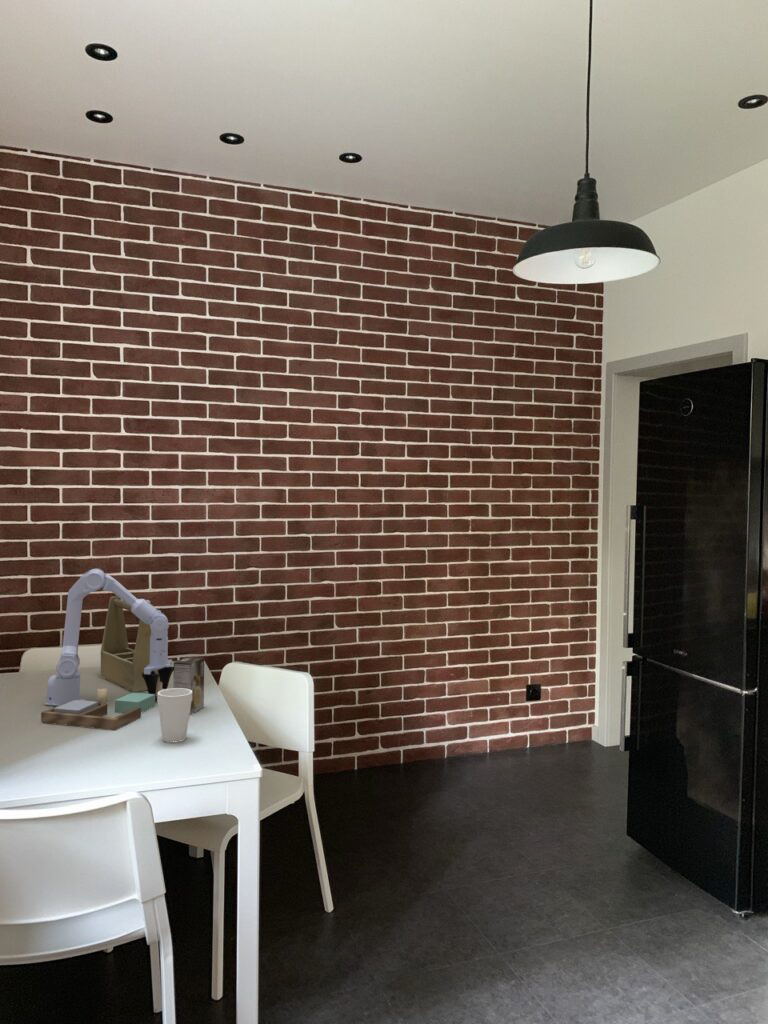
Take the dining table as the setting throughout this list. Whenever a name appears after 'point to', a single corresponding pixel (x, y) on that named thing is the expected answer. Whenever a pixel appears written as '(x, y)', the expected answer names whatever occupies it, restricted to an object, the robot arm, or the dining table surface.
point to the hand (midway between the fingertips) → (157, 691)
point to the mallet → (137, 700)
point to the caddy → (124, 649)
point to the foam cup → (174, 713)
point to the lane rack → (91, 717)
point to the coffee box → (191, 679)
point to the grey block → (83, 704)
